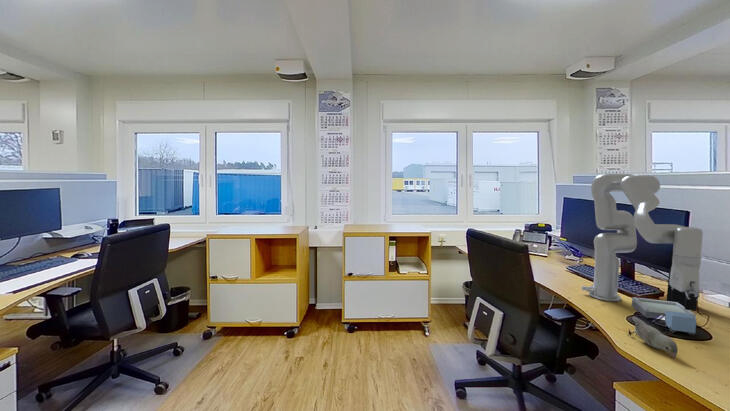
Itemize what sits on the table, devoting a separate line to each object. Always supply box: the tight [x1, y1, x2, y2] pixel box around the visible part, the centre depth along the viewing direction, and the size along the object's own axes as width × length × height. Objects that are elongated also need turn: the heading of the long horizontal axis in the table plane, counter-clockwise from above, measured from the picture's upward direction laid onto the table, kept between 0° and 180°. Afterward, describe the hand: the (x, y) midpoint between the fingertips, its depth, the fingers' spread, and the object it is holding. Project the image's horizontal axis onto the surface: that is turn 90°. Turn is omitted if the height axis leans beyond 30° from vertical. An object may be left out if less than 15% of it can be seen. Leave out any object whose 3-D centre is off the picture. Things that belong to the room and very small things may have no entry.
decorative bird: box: [627, 315, 679, 359], centre depth 113 cm, size 5×16×8 cm, turn 4°
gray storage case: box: [664, 311, 697, 335], centre depth 124 cm, size 8×5×7 cm, turn 69°
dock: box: [631, 296, 697, 319], centre depth 140 cm, size 16×14×4 cm
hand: (683, 305), depth 123 cm, fingers open, 9 cm apart
